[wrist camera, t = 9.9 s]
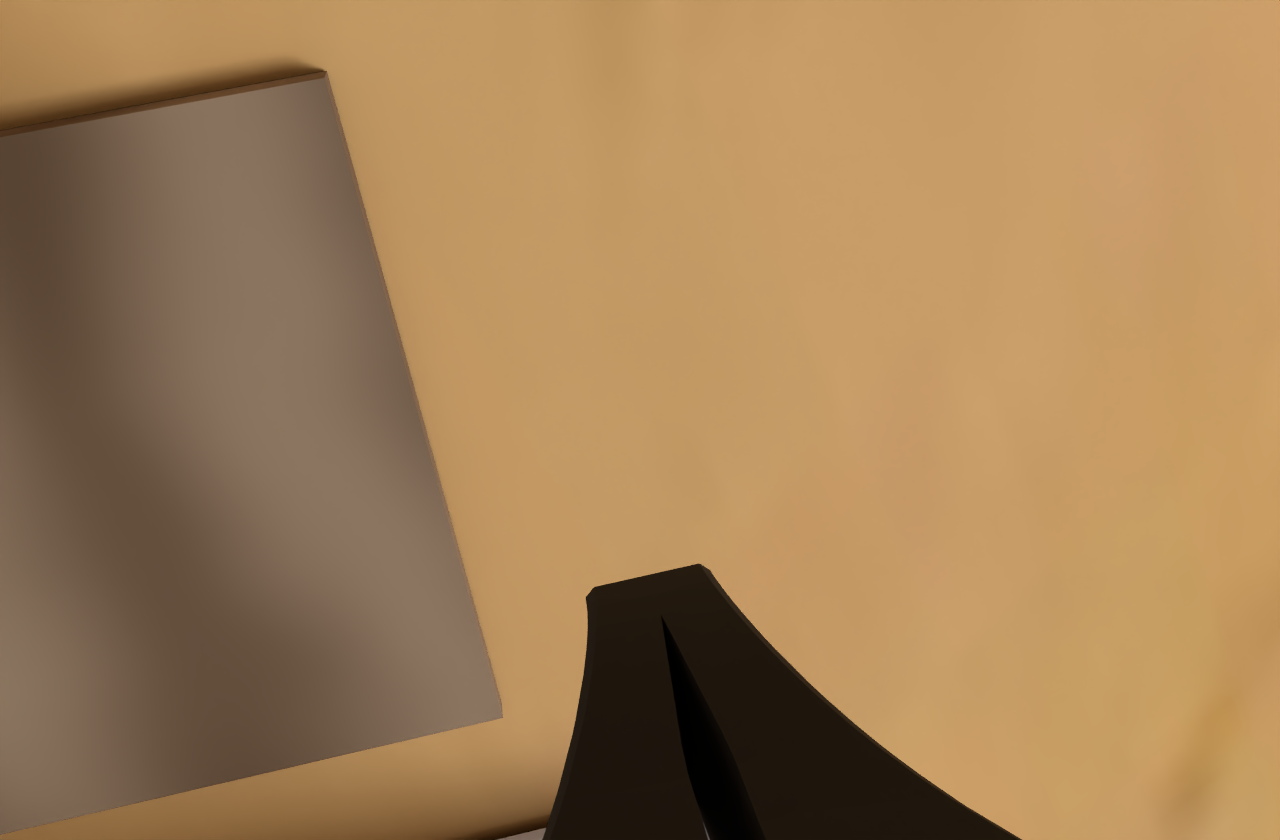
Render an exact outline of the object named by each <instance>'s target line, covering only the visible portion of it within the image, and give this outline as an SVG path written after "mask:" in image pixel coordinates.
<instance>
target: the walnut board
mask: <svg viewBox="0 0 1280 840" xmlns="http://www.w3.org/2000/svg"><path fill="white" fill-rule="evenodd" d="M500 718H503V714H502V704H501V699H500V695H499V692H498V688H497V685H496V681H495V677H494V674H493V670H492V666H491V663H490V659H489V656H488V652H487V648H486V645H485V641H484V638H483V634H482V630H481V627H480V623H479V620H478V616H477V612H476V609H475V605H474V601H473V598H472V594H471V591H470V587H469V583H468V580H467V576H466V573H465V569H464V565H463V562H462V558H461V555H460V551H459V547H458V544H457V540H456V536H455V533H454V529H453V526H452V522H451V518H450V515H449V511H448V508H447V504H446V500H445V497H444V493H443V490H442V486H441V482H440V479H439V475H438V471H437V468H436V464H435V461H434V457H433V453H432V450H431V446H430V443H429V439H428V435H427V432H426V428H425V425H424V421H423V417H422V414H421V410H420V406H419V403H418V399H417V396H416V392H415V388H414V385H413V381H412V378H411V374H410V370H409V367H408V363H407V360H406V356H405V352H404V349H403V345H402V341H401V338H400V334H399V331H398V327H397V323H396V320H395V316H394V313H393V309H392V305H391V302H390V298H389V295H388V291H387V287H386V284H385V280H384V276H383V273H382V269H381V266H380V262H379V258H378V255H377V251H376V248H375V244H374V240H373V237H372V233H371V229H370V226H369V222H368V219H367V215H366V211H365V208H364V204H363V201H362V197H361V193H360V190H359V186H358V183H357V179H356V175H355V172H354V168H353V164H352V161H351V157H350V154H349V150H348V146H347V143H346V139H345V136H344V132H343V128H342V125H341V121H340V118H339V114H338V110H337V107H336V103H335V99H334V96H333V92H332V89H331V85H330V81H329V78H328V74H327V71H324V72H318V73H313V74H307V75H302V76H296V77H291V78H285V79H280V80H274V81H269V82H263V83H258V84H252V85H247V86H242V87H236V88H231V89H225V90H220V91H214V92H209V93H203V94H198V95H192V96H187V97H181V98H176V99H171V100H165V101H160V102H154V103H149V104H143V105H138V106H132V107H127V108H121V109H116V110H110V111H105V112H99V113H94V114H89V115H83V116H78V117H72V118H67V119H61V120H56V121H50V122H45V123H39V124H34V125H28V126H23V127H17V128H12V129H7V130H1V131H0V835H1V834H6V833H10V832H14V831H18V830H23V829H27V828H31V827H36V826H40V825H44V824H49V823H53V822H57V821H61V820H66V819H70V818H74V817H79V816H83V815H87V814H92V813H96V812H100V811H104V810H109V809H113V808H117V807H122V806H126V805H130V804H135V803H139V802H143V801H147V800H152V799H156V798H160V797H165V796H169V795H173V794H178V793H182V792H186V791H190V790H195V789H199V788H203V787H208V786H212V785H216V784H220V783H225V782H229V781H233V780H238V779H242V778H246V777H251V776H255V775H259V774H263V773H268V772H272V771H276V770H281V769H285V768H289V767H294V766H298V765H302V764H306V763H311V762H315V761H319V760H324V759H328V758H332V757H337V756H341V755H345V754H349V753H354V752H358V751H362V750H367V749H371V748H375V747H380V746H384V745H388V744H392V743H397V742H401V741H405V740H410V739H414V738H418V737H423V736H427V735H431V734H435V733H440V732H444V731H448V730H453V729H457V728H461V727H465V726H470V725H474V724H478V723H483V722H487V721H491V720H496V719H500Z"/></svg>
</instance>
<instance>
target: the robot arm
mask: <svg viewBox="0 0 1280 840" xmlns="http://www.w3.org/2000/svg"><path fill="white" fill-rule="evenodd" d="M586 603H587V611H588V636H587V650H586V658H585V667H584V676H583V681H582V687H581V693H580V698H579V704H578V710H577V715H576V721H575V726H574V730H573V735H572V739H571V743H570V747H569V750H568V754H567V758H566V762H565V766H564V770H563V774H562V778H561V782H560V785H559V789H558V792H557V796H556V799H555V802H554V806H553V809H552V812H551V815H550V818H549V821H548V824H547V827H546V828H543V829H539V830H534V831H530V832H526V833H522V834H518V835H514V836H510V837H505V838H501V839H497V840H1022V839H1020V838H1018V837H1017V836H1015V835H1013V834H1012V833H1010V832H1008V831H1007V830H1005V829H1003V828H1002V827H1000V826H998V825H996V824H995V823H993V822H991V821H990V820H988V819H986V818H985V817H983V816H981V815H980V814H978V813H976V812H975V811H973V810H971V809H970V808H968V807H966V806H965V805H963V804H962V803H960V802H959V801H957V800H956V799H954V798H953V797H952V796H950V795H949V794H947V793H946V792H944V791H943V790H941V789H940V788H938V787H937V786H936V785H934V784H933V783H931V782H930V781H928V780H927V779H925V778H924V777H922V776H921V775H920V774H918V773H917V772H916V771H914V770H913V769H912V768H910V767H909V766H908V765H906V764H905V763H903V762H902V761H901V760H899V759H898V758H897V757H895V756H894V755H893V754H891V753H890V752H889V751H887V750H886V749H885V748H884V747H882V746H881V745H880V744H879V743H877V742H876V741H875V740H874V739H872V738H871V737H870V736H869V735H867V734H866V733H865V732H864V731H863V730H861V729H860V728H859V727H858V726H857V725H855V724H854V723H853V722H852V721H851V720H850V719H849V718H847V717H846V716H845V715H844V714H843V713H842V712H841V711H839V710H838V709H837V708H836V707H835V706H834V705H833V704H831V703H830V702H829V701H828V700H827V699H826V698H825V697H824V696H823V695H821V694H820V693H819V692H818V691H817V690H816V689H815V688H814V687H813V686H812V685H811V684H810V683H809V682H808V681H807V680H806V679H805V678H804V677H803V676H802V675H801V674H800V673H799V672H798V671H797V670H796V669H795V668H794V667H793V666H792V665H791V664H790V663H789V662H788V661H787V660H786V659H785V658H784V657H783V656H782V655H781V654H780V653H779V652H778V651H777V650H776V649H775V648H774V647H773V646H772V645H771V644H770V643H769V642H768V641H767V640H766V639H765V638H764V637H763V636H762V635H761V633H760V632H759V631H758V630H757V629H756V628H755V627H754V626H753V624H752V623H751V622H750V621H749V620H748V619H747V618H746V616H745V615H744V614H743V613H742V612H741V611H740V609H739V608H738V607H737V606H736V605H735V603H734V602H733V601H732V600H731V598H730V597H729V596H728V595H727V593H726V592H725V591H724V589H723V588H722V587H721V585H720V584H719V583H718V581H717V580H716V579H715V577H714V576H713V574H712V573H711V571H710V570H709V569H707V568H706V567H704V566H702V565H701V564H695V565H691V566H686V567H682V568H677V569H673V570H668V571H664V572H660V573H655V574H651V575H646V576H642V577H637V578H633V579H628V580H624V581H619V582H615V583H611V584H606V585H602V586H597V587H594V588H593V589H592V590H591V592H590V593H589V594H588V595H587V597H586Z"/></svg>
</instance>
